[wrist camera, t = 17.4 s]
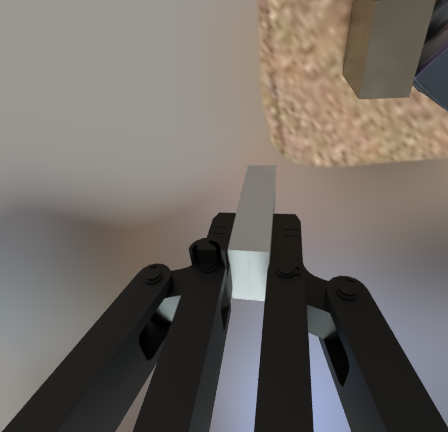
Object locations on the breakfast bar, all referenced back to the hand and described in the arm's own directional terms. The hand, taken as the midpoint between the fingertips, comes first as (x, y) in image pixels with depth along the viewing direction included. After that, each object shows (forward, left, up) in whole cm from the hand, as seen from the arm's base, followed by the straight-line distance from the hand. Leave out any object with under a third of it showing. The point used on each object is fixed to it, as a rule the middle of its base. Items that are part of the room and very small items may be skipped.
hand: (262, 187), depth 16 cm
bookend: (-4, +9, -24) cm, 26 cm away
